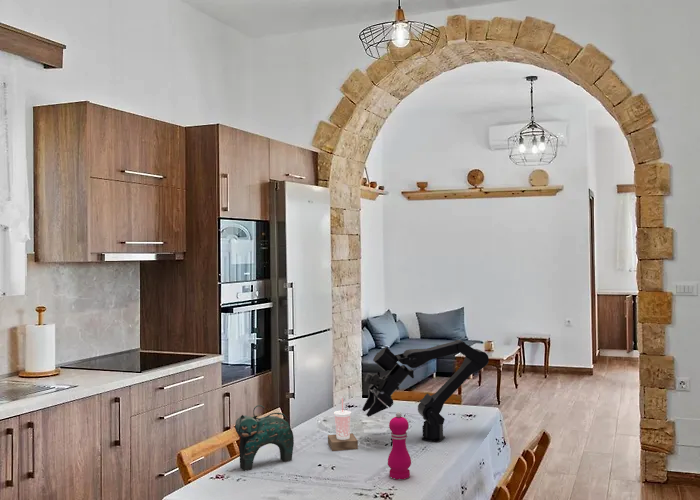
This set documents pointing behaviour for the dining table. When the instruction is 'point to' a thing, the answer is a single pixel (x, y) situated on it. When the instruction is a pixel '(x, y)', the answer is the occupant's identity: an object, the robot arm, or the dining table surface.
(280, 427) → the ceramic cat
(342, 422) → the beverage cup
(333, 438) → the walnut block
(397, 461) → the pepper mill
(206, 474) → the dining table surface
